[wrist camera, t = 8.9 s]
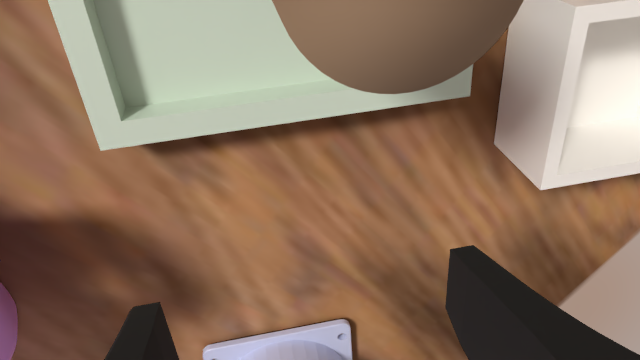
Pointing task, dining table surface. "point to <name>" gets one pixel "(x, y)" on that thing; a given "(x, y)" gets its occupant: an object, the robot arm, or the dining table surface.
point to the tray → (203, 70)
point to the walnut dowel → (394, 38)
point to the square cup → (572, 91)
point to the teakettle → (7, 324)
